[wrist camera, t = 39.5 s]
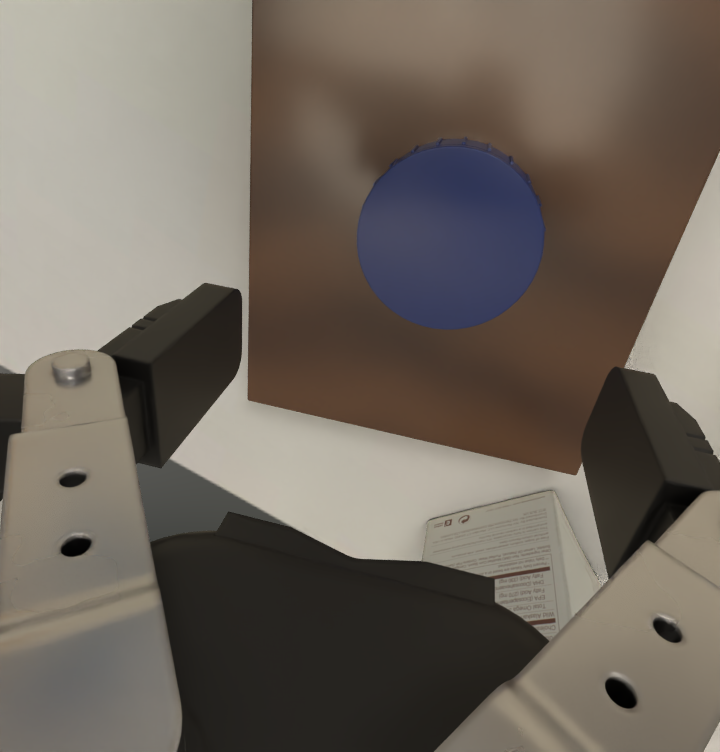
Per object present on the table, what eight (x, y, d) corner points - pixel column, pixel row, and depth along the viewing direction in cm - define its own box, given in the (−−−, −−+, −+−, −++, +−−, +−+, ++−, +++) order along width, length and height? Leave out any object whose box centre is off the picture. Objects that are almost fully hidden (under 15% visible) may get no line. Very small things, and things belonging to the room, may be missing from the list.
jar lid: (476, 339, 22) (475, 361, 21) (338, 260, 22) (325, 276, 20) (581, 197, 19) (589, 210, 17) (418, 99, 18) (411, 103, 17)
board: (572, 456, 26) (576, 476, 25) (258, 385, 28) (246, 400, 27) (799, -76, 16) (826, -88, 14) (270, -131, 17) (252, -146, 16)
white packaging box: (603, 582, 30) (663, 876, 19) (476, 603, 33) (466, 867, 22) (557, 483, 27) (596, 761, 16) (423, 516, 30) (383, 768, 19)
